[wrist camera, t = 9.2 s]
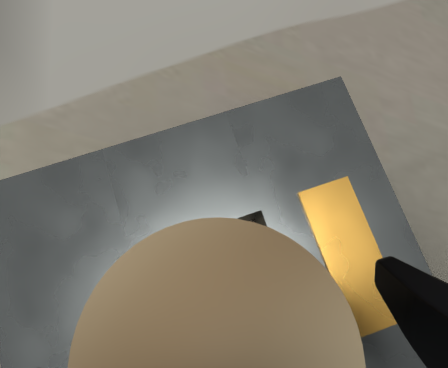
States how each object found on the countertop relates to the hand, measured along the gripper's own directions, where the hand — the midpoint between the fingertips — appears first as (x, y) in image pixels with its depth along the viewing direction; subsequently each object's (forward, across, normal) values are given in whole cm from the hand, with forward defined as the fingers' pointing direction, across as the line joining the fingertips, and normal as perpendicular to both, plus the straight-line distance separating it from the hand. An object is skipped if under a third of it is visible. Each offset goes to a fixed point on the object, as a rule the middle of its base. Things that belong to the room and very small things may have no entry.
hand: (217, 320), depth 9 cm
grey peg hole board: (+6, 0, +6) cm, 9 cm away
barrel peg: (+6, 0, +6) cm, 9 cm away
